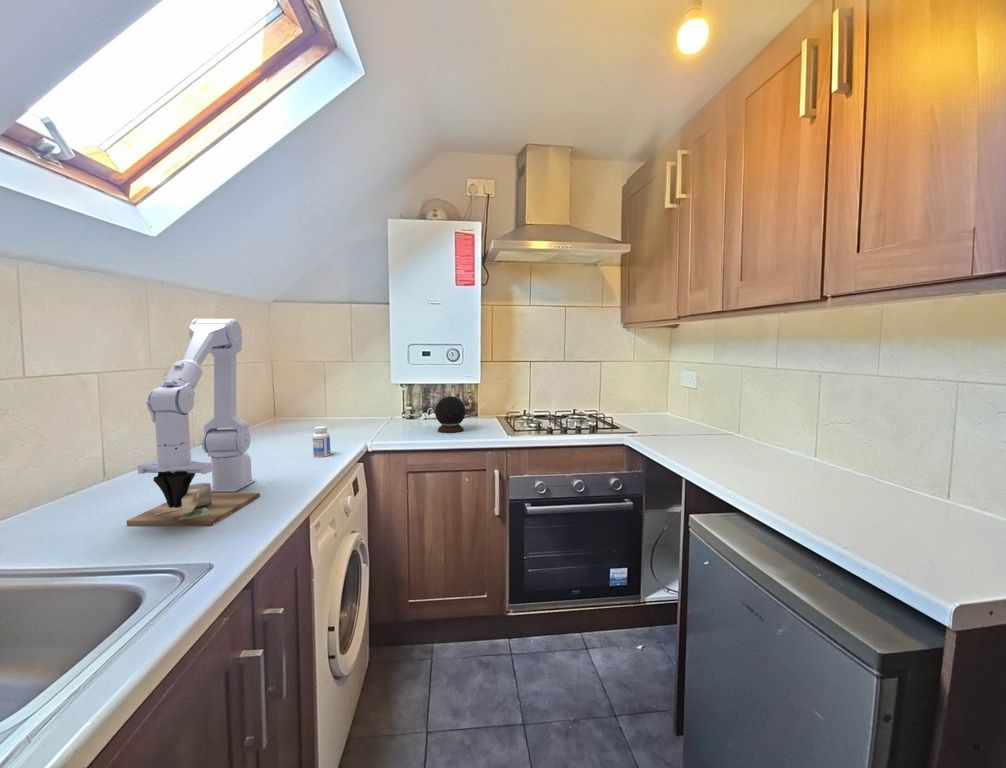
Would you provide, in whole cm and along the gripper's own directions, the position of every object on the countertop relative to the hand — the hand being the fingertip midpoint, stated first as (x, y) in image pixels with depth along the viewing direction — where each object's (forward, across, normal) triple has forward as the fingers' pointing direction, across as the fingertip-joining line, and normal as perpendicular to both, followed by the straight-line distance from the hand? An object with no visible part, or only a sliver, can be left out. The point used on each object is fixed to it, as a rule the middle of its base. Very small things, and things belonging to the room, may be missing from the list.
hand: (177, 506), depth 97 cm
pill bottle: (+3, +7, +57) cm, 58 cm away
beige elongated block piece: (+2, +1, +3) cm, 4 cm away
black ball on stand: (+2, +45, +101) cm, 111 cm away
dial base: (+3, 0, +6) cm, 7 cm away
